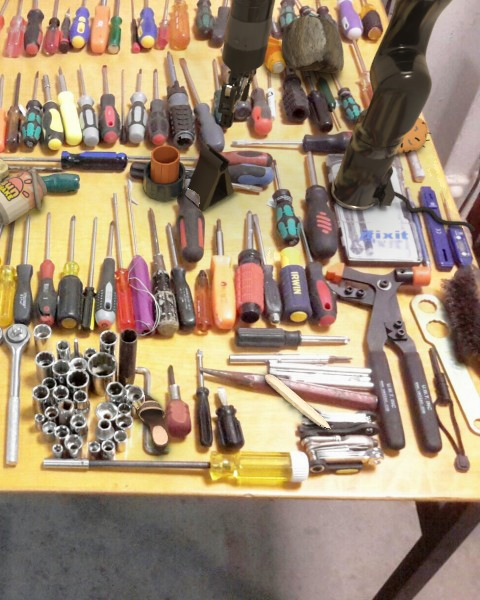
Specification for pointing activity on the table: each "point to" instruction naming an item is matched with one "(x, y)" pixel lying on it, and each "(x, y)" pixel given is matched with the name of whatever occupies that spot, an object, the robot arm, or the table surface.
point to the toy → (415, 137)
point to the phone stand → (211, 178)
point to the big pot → (163, 185)
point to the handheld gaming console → (3, 170)
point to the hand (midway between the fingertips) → (233, 112)
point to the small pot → (165, 164)
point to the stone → (313, 45)
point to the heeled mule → (154, 422)
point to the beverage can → (20, 195)
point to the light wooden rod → (296, 401)
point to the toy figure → (275, 56)
